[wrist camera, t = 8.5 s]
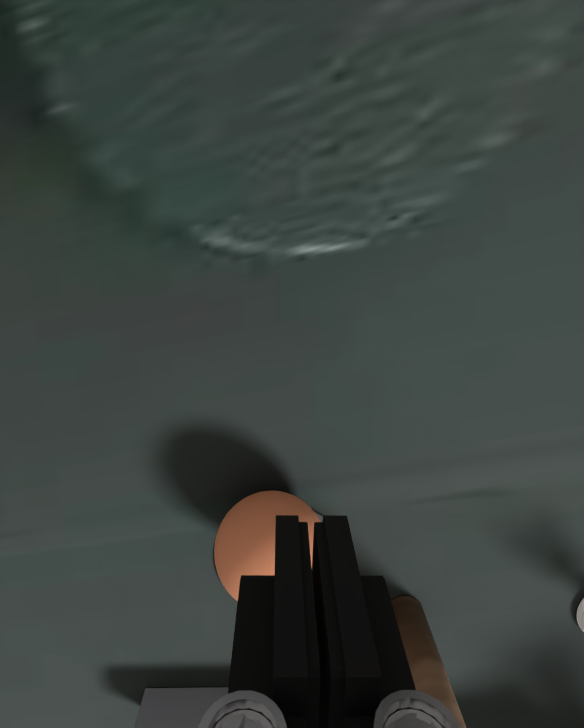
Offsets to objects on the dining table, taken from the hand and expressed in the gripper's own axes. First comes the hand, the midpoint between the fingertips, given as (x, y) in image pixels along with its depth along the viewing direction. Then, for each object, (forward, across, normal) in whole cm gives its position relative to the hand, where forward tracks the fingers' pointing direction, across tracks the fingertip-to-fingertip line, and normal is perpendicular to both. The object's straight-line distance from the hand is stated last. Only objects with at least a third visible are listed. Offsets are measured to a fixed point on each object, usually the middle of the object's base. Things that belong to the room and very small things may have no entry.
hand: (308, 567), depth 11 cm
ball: (+12, +1, +9) cm, 15 cm away
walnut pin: (+15, -8, +17) cm, 23 cm away
